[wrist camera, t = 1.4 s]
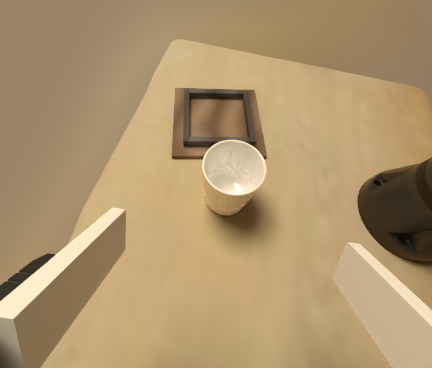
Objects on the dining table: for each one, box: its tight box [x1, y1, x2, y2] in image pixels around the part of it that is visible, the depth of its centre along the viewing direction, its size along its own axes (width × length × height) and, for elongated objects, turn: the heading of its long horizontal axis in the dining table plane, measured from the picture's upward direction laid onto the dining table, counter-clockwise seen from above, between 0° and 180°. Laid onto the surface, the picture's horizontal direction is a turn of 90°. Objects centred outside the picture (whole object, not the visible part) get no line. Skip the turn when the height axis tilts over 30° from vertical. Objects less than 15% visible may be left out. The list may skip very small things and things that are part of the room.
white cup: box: [202, 140, 266, 216], centre depth 29 cm, size 8×8×10 cm
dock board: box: [172, 88, 267, 158], centre depth 39 cm, size 17×17×2 cm
